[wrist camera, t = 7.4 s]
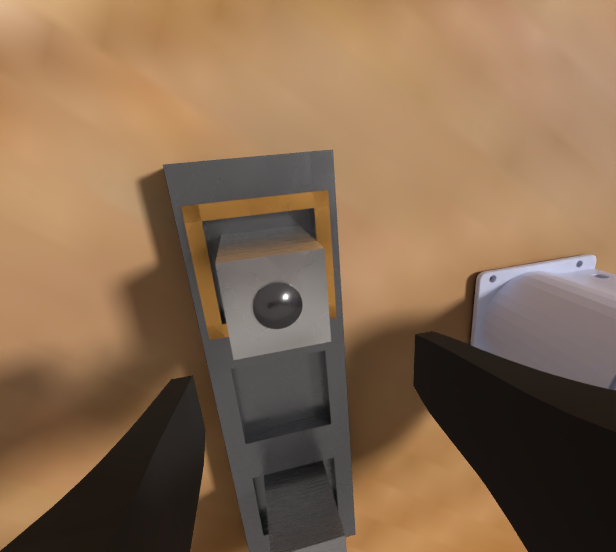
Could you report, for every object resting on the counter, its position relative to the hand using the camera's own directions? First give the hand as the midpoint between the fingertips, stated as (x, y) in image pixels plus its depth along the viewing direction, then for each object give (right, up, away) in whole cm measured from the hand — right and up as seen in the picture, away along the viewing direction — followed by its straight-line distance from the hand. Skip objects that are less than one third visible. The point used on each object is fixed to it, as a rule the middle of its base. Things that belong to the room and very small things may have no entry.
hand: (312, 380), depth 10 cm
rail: (-2, -4, +11) cm, 12 cm away
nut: (-1, -12, +13) cm, 18 cm away
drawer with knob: (-2, +4, +8) cm, 9 cm away
